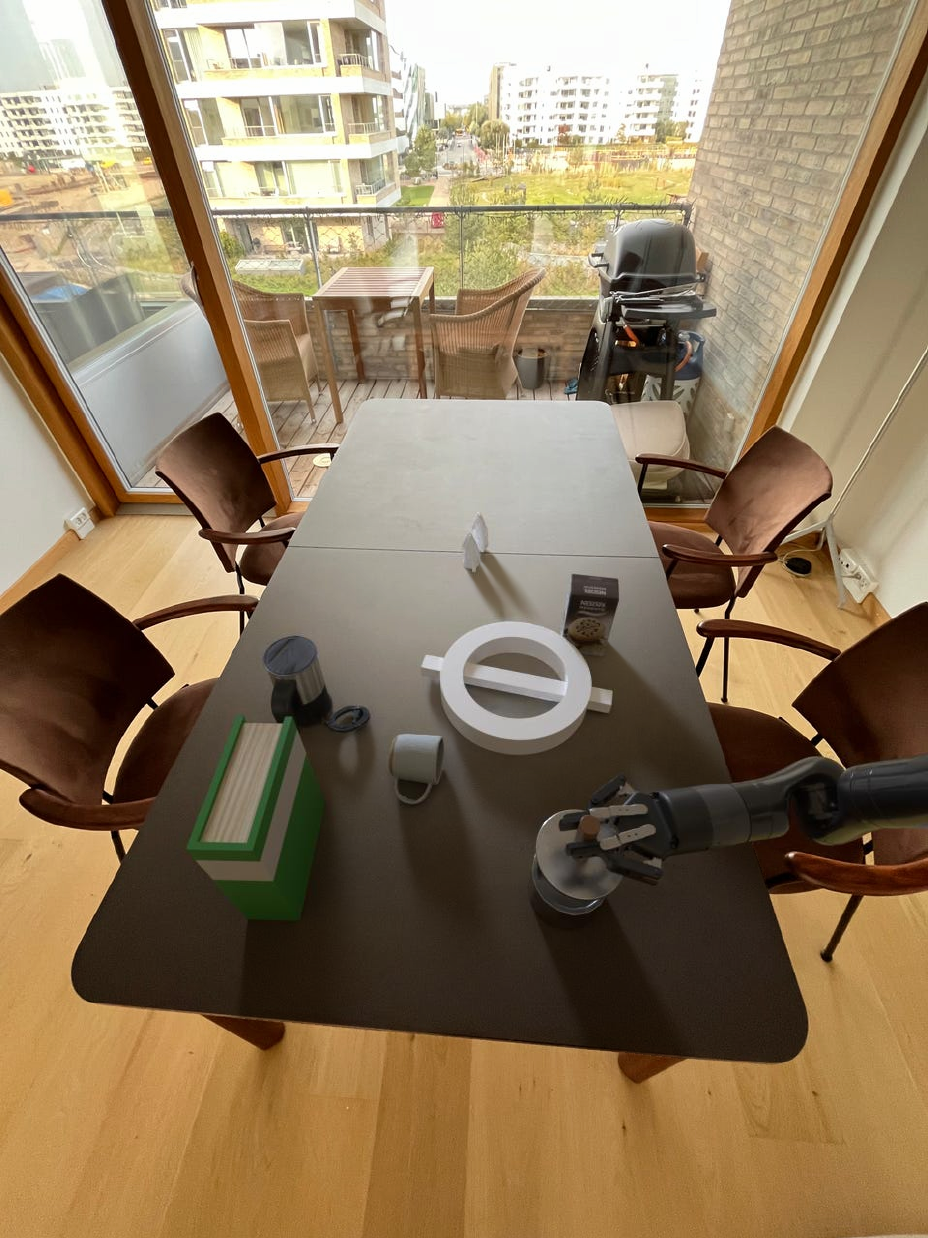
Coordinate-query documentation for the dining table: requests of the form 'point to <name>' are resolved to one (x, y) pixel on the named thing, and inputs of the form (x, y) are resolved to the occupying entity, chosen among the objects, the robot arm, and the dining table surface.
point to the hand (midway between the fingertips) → (563, 837)
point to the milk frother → (303, 687)
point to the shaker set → (475, 543)
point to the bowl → (559, 904)
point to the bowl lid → (570, 874)
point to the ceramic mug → (416, 761)
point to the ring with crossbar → (516, 687)
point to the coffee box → (590, 612)
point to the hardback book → (261, 821)
